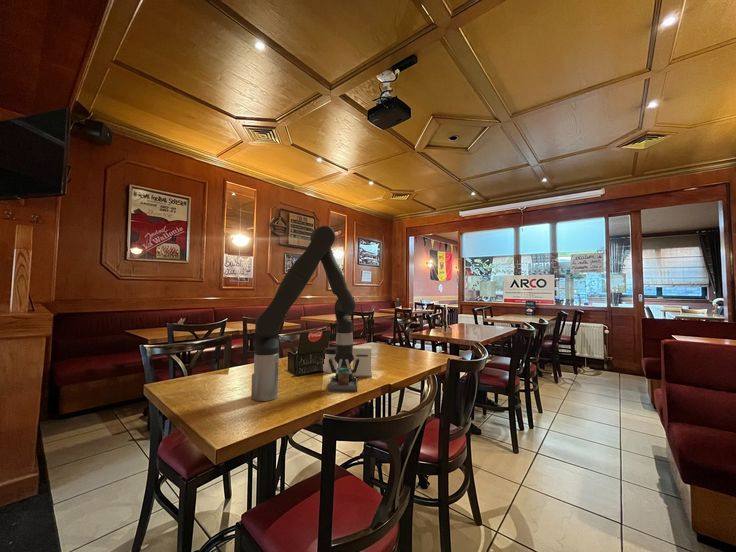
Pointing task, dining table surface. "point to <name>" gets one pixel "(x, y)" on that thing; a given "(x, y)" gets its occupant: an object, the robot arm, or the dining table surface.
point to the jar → (329, 353)
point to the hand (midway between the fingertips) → (343, 381)
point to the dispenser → (362, 361)
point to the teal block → (343, 376)
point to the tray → (343, 386)
